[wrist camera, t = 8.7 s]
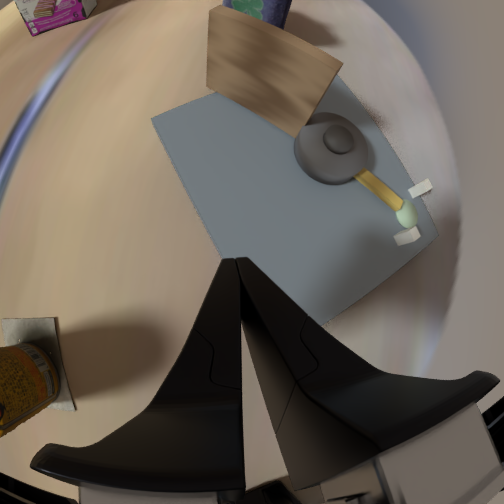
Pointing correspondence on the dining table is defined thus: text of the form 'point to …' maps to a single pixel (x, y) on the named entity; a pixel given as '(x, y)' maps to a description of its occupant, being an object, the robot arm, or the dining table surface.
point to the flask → (263, 9)
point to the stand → (295, 201)
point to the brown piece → (288, 95)
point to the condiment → (30, 372)
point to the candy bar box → (53, 13)
